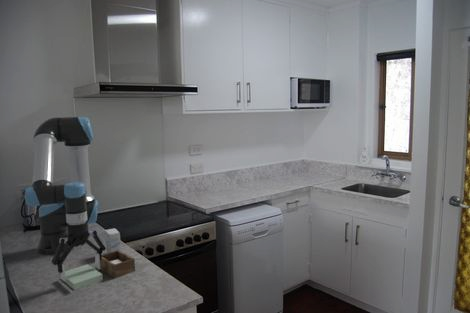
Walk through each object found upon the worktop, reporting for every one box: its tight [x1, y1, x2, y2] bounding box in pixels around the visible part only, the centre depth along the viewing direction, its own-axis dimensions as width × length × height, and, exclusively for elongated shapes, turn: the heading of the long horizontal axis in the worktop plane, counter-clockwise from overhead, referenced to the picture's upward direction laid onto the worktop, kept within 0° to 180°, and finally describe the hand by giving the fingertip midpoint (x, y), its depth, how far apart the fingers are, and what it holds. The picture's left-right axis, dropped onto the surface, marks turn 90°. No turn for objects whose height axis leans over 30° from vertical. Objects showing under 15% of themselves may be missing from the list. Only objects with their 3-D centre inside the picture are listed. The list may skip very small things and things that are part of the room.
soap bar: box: [110, 259, 122, 264], centre depth 151 cm, size 6×4×3 cm, turn 45°
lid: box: [59, 263, 104, 291], centre depth 143 cm, size 14×11×3 cm
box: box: [99, 250, 136, 279], centre depth 151 cm, size 14×9×6 cm, turn 45°
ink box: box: [104, 227, 123, 254], centre depth 167 cm, size 9×5×12 cm, turn 33°
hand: (81, 273), depth 143 cm, fingers open, 13 cm apart
